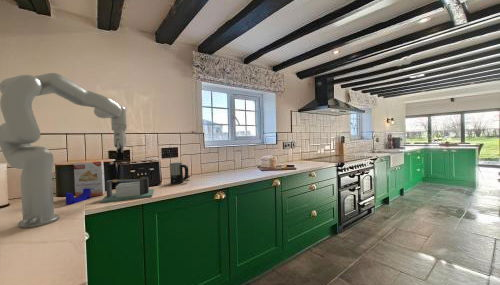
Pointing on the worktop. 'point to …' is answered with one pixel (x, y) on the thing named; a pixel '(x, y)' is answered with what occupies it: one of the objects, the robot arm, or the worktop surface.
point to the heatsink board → (113, 198)
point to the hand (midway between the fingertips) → (120, 159)
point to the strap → (126, 180)
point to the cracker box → (89, 178)
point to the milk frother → (178, 173)
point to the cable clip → (72, 200)
